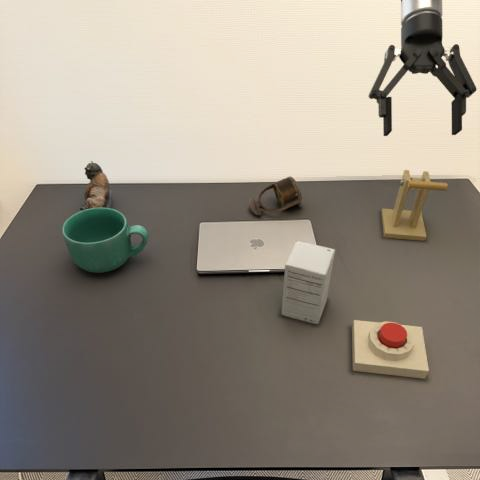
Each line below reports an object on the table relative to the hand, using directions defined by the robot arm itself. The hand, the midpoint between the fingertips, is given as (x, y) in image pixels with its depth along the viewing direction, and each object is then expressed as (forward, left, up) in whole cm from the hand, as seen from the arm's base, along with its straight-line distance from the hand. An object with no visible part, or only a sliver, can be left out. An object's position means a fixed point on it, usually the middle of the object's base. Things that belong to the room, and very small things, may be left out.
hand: (422, 133), depth 92 cm
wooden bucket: (+28, -5, -23) cm, 37 cm away
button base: (+4, +38, -22) cm, 44 cm away
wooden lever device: (-2, -1, -22) cm, 22 cm away
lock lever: (-2, +4, -10) cm, 11 cm away
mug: (+60, +21, -23) cm, 68 cm away
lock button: (+4, +38, -19) cm, 43 cm away
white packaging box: (+19, +29, -23) cm, 42 cm away
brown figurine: (+70, +3, -23) cm, 74 cm away
